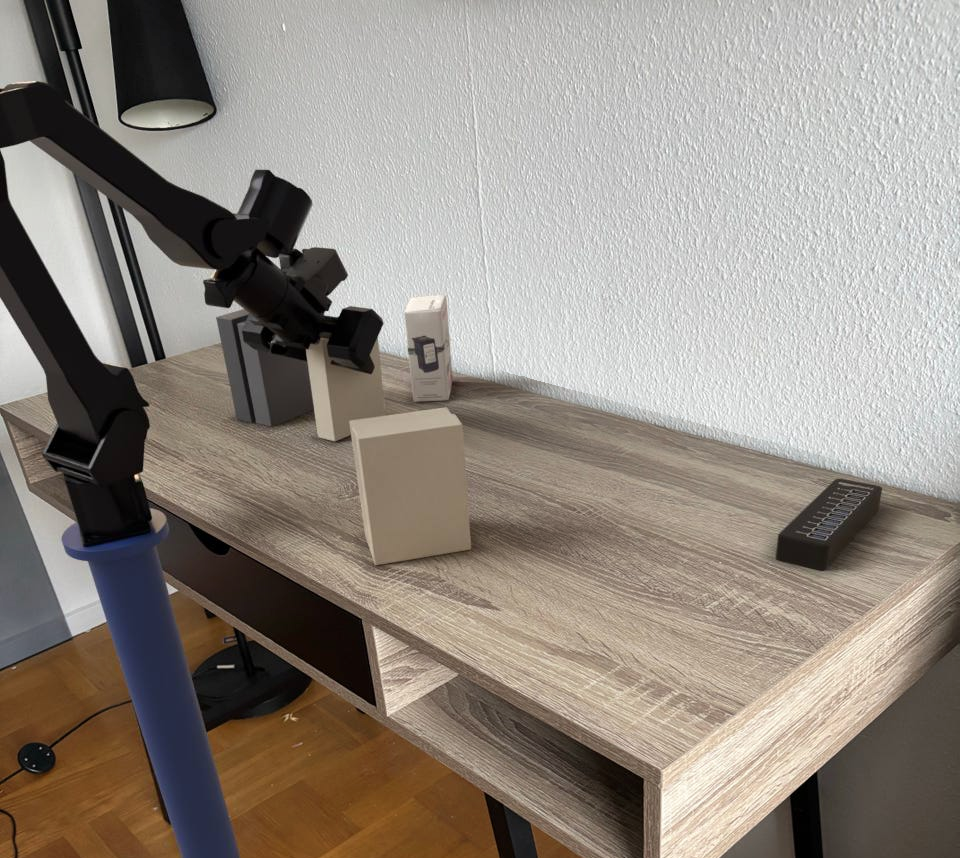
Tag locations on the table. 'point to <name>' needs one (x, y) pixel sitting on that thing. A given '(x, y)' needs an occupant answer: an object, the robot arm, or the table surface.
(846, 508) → the multiport hub
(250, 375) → the grey books
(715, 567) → the table surface
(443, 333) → the ink box
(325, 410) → the white book
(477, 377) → the table surface
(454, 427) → the white books
